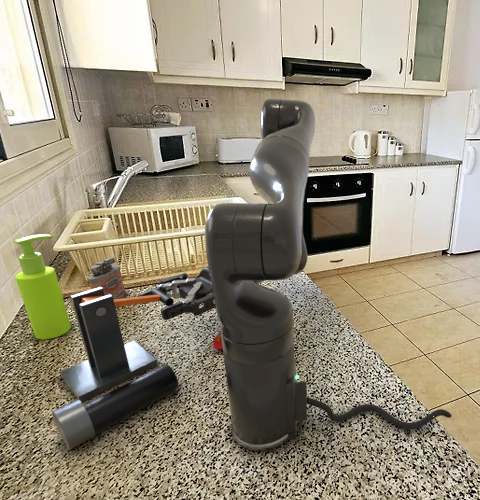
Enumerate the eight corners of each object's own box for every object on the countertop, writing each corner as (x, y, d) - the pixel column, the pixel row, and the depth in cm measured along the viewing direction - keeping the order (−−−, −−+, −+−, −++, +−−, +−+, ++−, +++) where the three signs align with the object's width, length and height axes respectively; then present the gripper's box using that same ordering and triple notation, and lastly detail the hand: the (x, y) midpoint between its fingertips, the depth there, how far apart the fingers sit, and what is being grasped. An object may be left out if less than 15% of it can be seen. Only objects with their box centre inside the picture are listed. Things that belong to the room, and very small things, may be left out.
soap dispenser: (82, 326, 77) (56, 235, 70) (42, 342, 72) (10, 246, 65) (68, 318, 80) (43, 229, 73) (29, 333, 75) (-2, 239, 68)
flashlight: (165, 379, 63) (159, 352, 61) (182, 395, 60) (177, 366, 58) (59, 435, 52) (48, 404, 50) (73, 458, 49) (62, 425, 47)
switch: (158, 298, 71) (160, 286, 71) (173, 307, 68) (174, 295, 68) (77, 308, 61) (78, 294, 61) (89, 320, 58) (90, 305, 57)
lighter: (103, 309, 84) (93, 269, 80) (90, 308, 84) (80, 267, 81) (130, 293, 91) (121, 255, 88) (118, 291, 92) (109, 254, 88)
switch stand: (135, 345, 72) (120, 275, 67) (157, 365, 67) (143, 291, 61) (61, 377, 63) (36, 300, 58) (80, 403, 58) (55, 321, 53)
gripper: (207, 253, 82) (130, 277, 71) (247, 271, 74) (167, 301, 62) (211, 284, 85) (137, 311, 73) (250, 304, 77) (173, 339, 65)
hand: (151, 307), depth 68 cm, fingers open, 8 cm apart
